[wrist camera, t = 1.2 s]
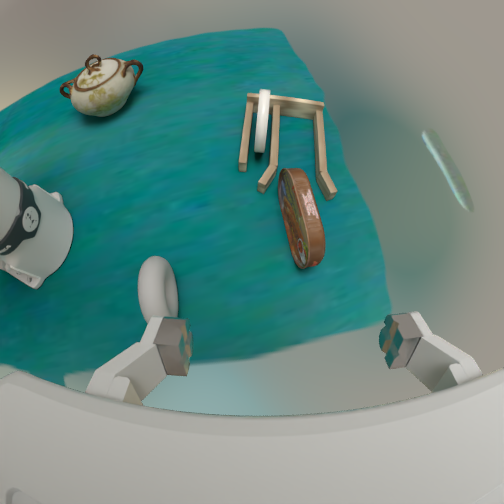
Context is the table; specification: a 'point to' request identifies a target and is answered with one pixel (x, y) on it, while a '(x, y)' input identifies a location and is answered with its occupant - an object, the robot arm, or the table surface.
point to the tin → (301, 217)
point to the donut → (157, 289)
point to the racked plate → (262, 120)
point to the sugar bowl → (102, 86)
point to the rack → (277, 108)
